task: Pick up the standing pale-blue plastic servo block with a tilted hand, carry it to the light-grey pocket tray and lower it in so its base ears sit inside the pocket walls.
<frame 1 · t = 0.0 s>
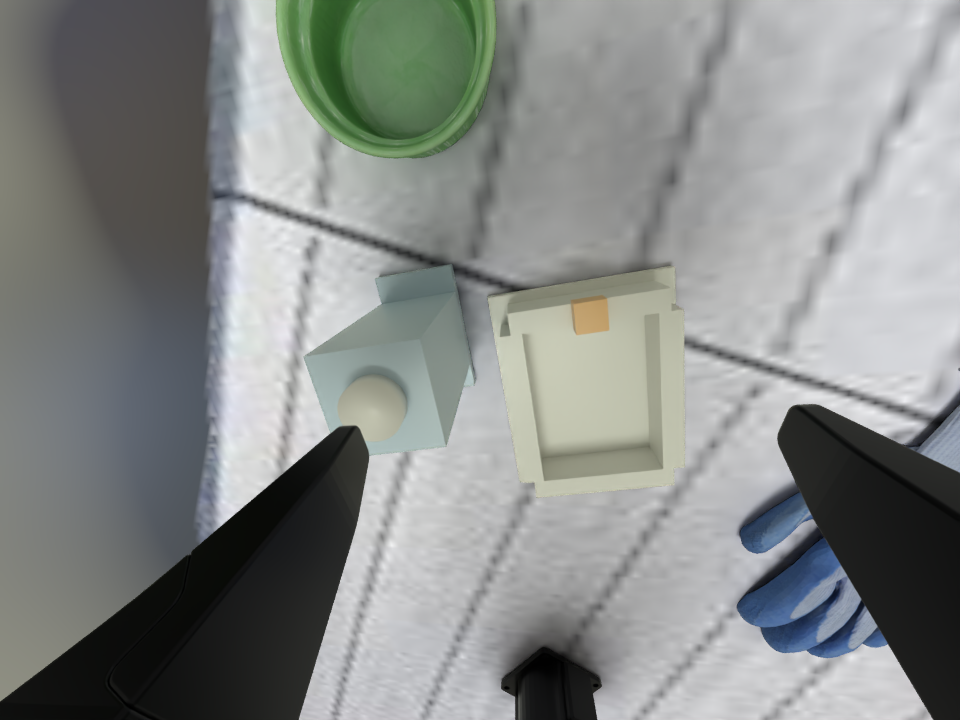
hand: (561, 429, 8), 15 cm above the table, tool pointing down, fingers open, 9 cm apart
pocket tray: (586, 383, 24), on the table
servo block: (429, 330, 24), on the table
ramekin: (412, 71, 20), on the table
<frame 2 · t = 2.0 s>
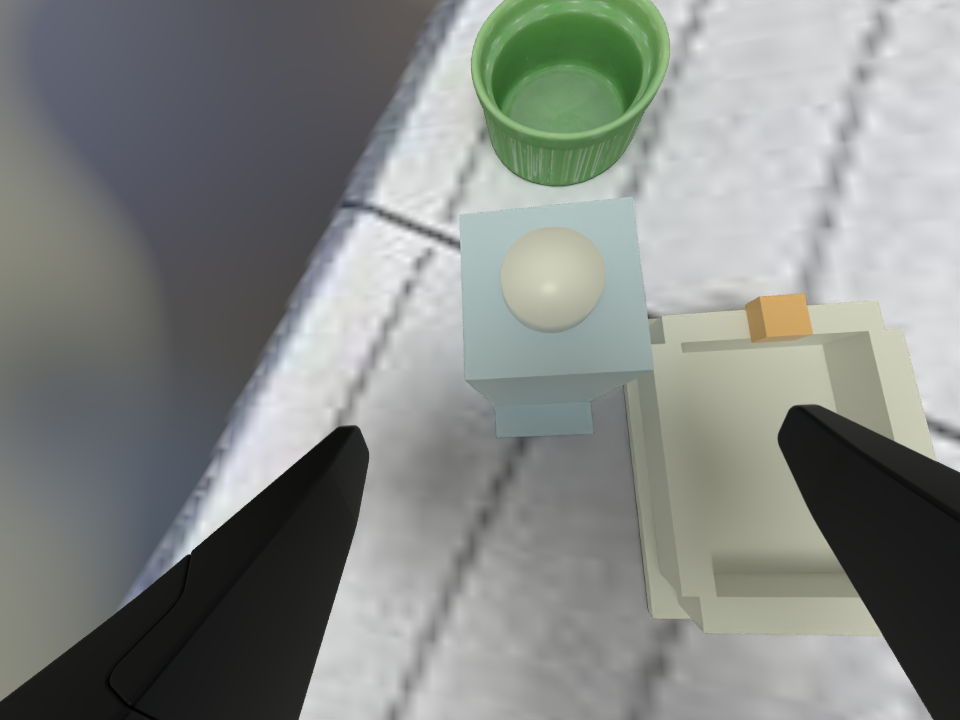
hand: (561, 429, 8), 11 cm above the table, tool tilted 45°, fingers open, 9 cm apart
pocket tray: (750, 454, 17), on the table
servo block: (538, 360, 19), on the table
ramekin: (559, 128, 22), on the table
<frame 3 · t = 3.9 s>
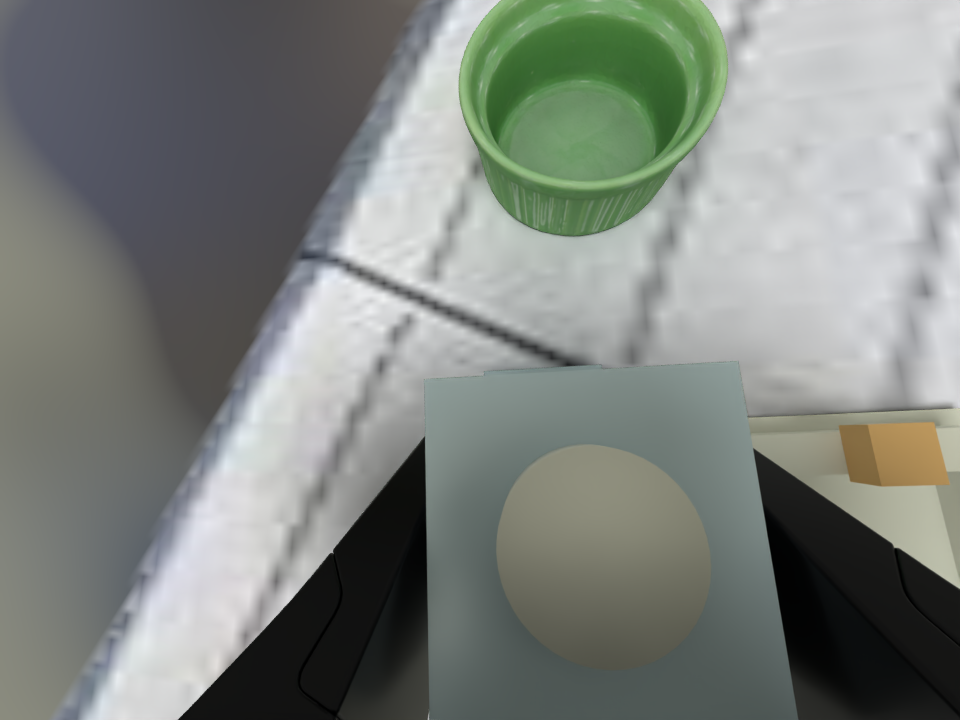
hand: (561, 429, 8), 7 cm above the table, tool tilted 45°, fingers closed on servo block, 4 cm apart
pocket tray: (832, 608, 13), on the table
servo block: (547, 466, 15), on the table, touching gripper
ramekin: (572, 160, 18), on the table
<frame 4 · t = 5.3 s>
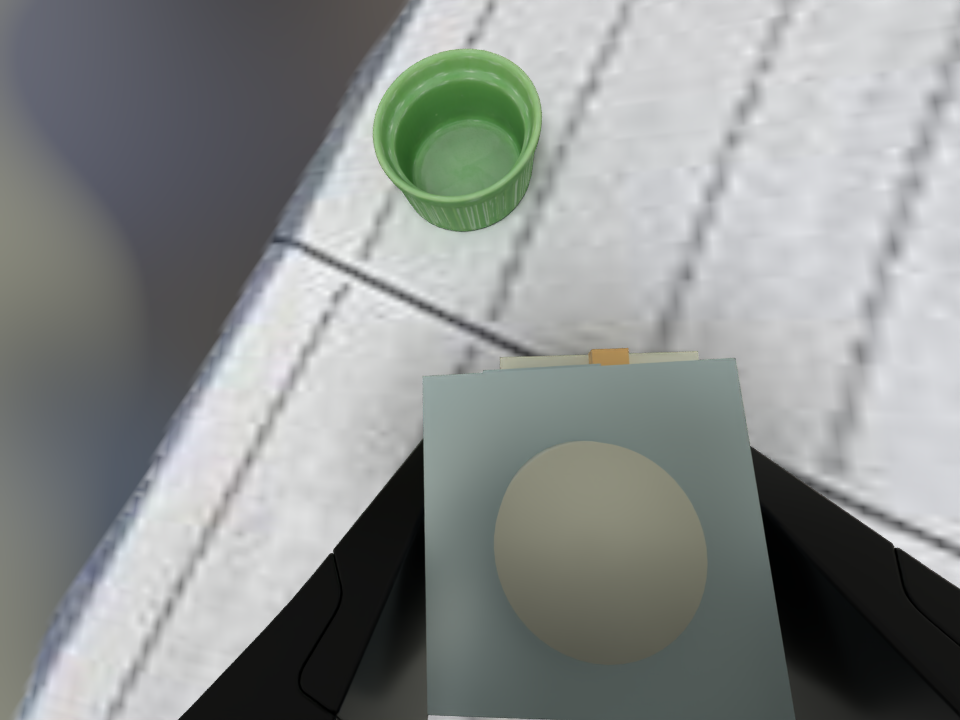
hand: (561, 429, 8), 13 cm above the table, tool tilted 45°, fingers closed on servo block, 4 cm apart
pocket tray: (601, 477, 20), on the table
servo block: (546, 465, 15), point 6 cm above the table, touching gripper
ramekin: (467, 176, 25), on the table
when the fingers open (8 cm above the table, at t = 7.0 s): servo block stays where it is, resting on pocket tray.
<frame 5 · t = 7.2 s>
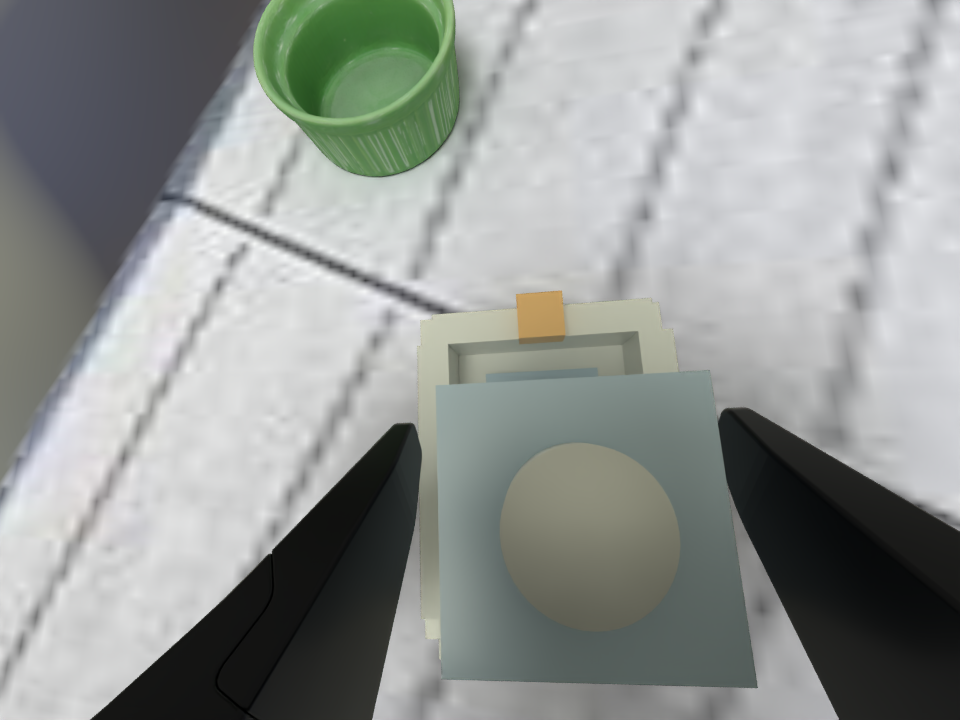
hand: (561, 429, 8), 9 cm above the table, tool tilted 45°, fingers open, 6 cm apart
pocket tray: (545, 462, 16), on the table
servo block: (546, 464, 16), point 1 cm above the table, touching pocket tray
ramekin: (387, 115, 21), on the table
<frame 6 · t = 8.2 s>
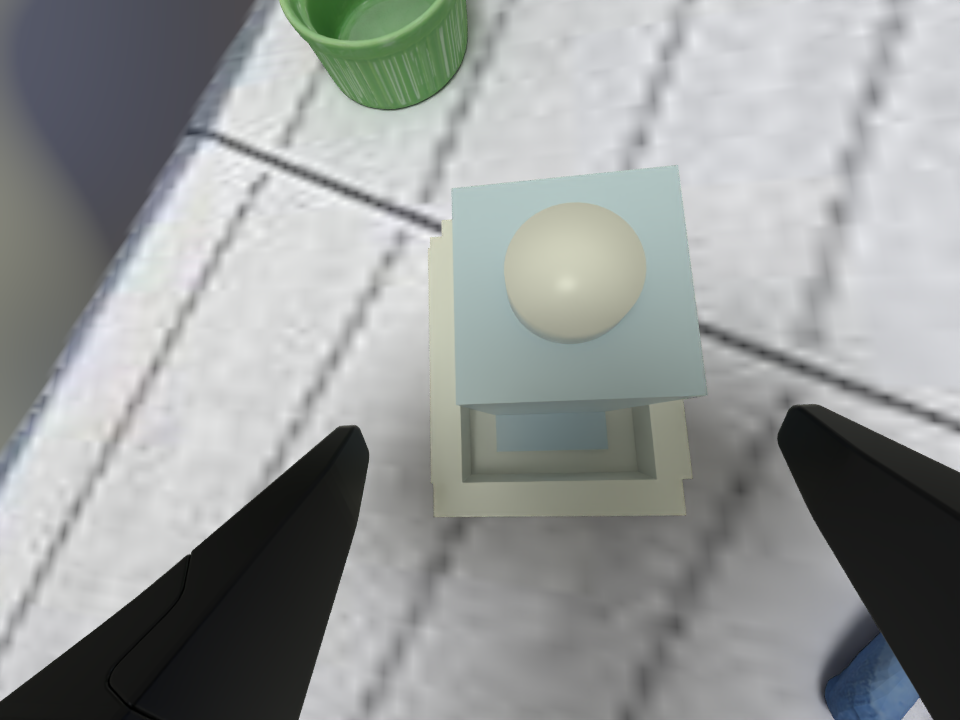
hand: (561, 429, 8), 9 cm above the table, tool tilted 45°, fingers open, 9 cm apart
pocket tray: (545, 364, 18), on the table
servo block: (545, 363, 17), point 1 cm above the table, touching pocket tray
ramekin: (399, 54, 22), on the table
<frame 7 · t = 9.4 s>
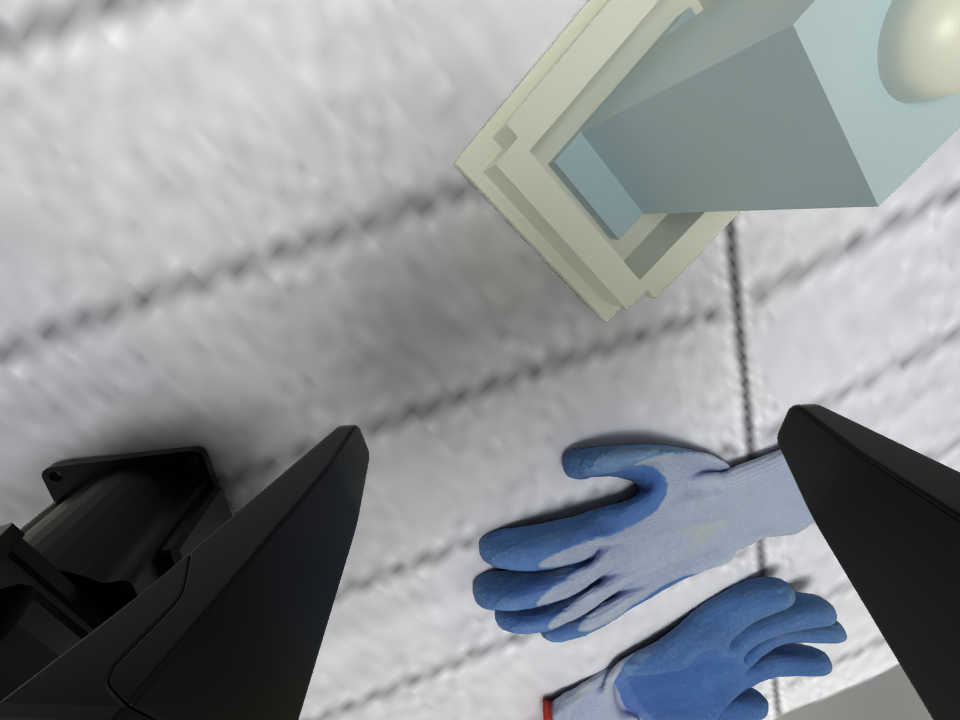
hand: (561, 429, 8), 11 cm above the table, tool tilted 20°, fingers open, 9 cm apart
pocket tray: (634, 139, 17), on the table
servo block: (641, 136, 17), point 1 cm above the table, touching pocket tray
pair of gloves: (660, 589, 29), on the table
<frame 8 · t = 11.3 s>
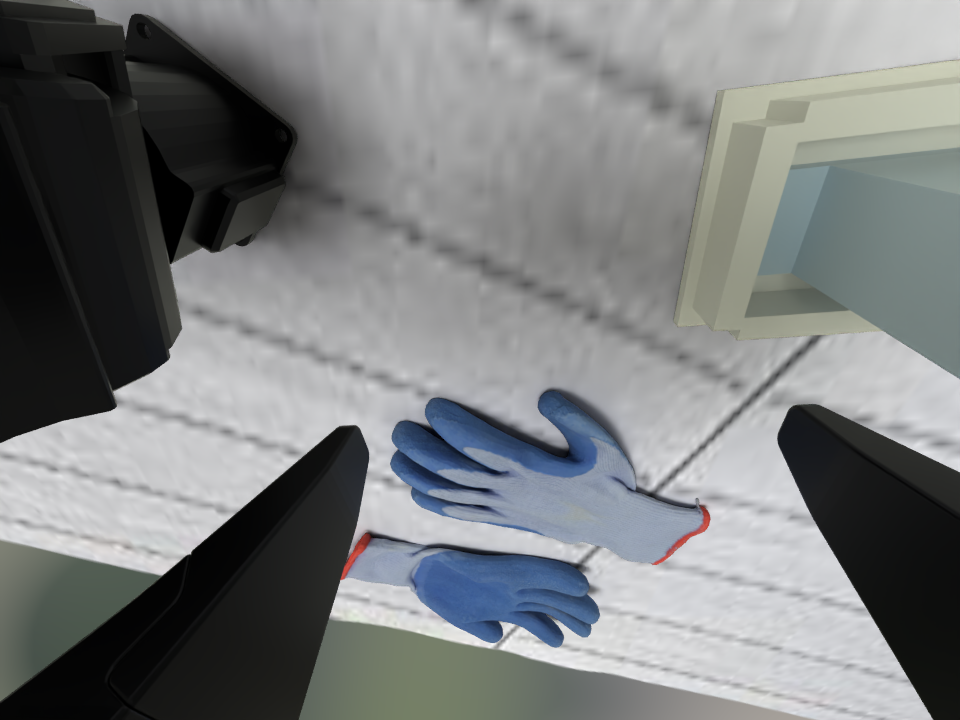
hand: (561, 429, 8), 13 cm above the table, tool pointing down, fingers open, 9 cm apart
pocket tray: (842, 210, 17), on the table
servo block: (852, 213, 17), point 1 cm above the table, touching pocket tray
pair of gloves: (508, 527, 34), on the table
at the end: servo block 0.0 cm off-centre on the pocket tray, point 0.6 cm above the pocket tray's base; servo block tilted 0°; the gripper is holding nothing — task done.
